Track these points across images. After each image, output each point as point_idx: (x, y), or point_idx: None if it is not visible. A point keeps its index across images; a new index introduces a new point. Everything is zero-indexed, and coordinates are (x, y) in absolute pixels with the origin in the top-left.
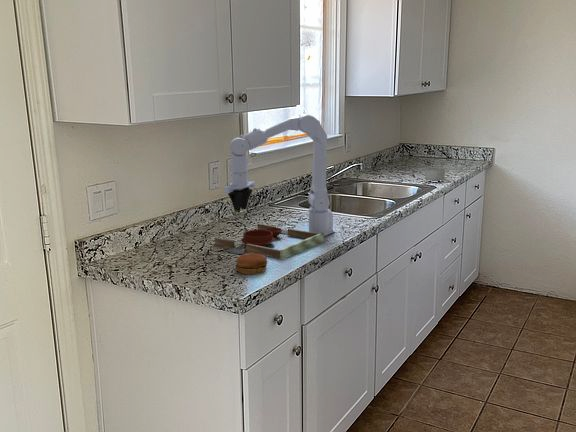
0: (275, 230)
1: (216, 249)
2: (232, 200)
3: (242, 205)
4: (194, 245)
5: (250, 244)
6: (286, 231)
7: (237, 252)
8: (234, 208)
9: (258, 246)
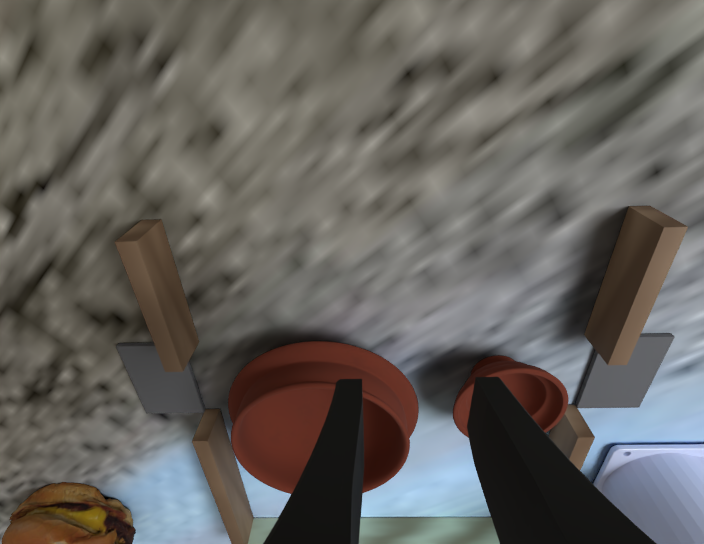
0: (544, 391)
1: (101, 286)
2: (291, 524)
3: (485, 435)
4: (6, 97)
5: (207, 454)
6: (635, 372)
7: (153, 401)
8: (334, 403)
9: (213, 486)
